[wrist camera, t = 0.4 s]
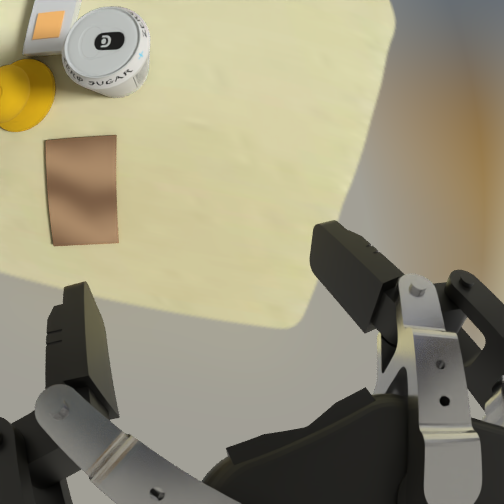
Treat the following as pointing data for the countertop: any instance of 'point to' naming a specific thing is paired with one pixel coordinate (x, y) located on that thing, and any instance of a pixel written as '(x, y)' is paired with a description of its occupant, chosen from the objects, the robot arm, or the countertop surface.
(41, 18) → the block
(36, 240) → the countertop surface
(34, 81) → the doorknob
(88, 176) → the brown sandpaper sheet
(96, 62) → the energy drink can
